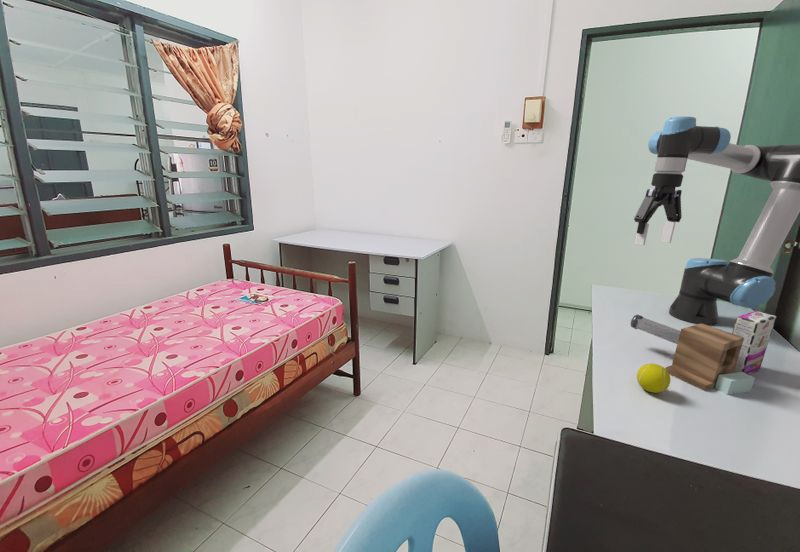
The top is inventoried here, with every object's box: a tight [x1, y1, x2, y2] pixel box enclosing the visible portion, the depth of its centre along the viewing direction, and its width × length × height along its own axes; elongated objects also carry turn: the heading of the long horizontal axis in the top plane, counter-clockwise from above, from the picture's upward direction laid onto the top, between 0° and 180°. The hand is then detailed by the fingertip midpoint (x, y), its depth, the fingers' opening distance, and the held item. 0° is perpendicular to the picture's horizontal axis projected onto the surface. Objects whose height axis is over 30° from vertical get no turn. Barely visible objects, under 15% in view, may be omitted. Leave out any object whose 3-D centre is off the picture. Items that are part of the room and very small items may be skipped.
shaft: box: [630, 314, 681, 345], centre depth 112 cm, size 4×21×4 cm, turn 27°
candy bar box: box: [732, 310, 777, 375], centre depth 107 cm, size 11×5×16 cm, turn 117°
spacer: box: [714, 372, 756, 395], centre depth 99 cm, size 8×4×3 cm
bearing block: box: [664, 323, 744, 391], centre depth 104 cm, size 16×10×12 cm, turn 117°
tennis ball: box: [636, 362, 671, 394], centre depth 96 cm, size 7×7×7 cm
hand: (652, 243), depth 120 cm, fingers open, 13 cm apart
